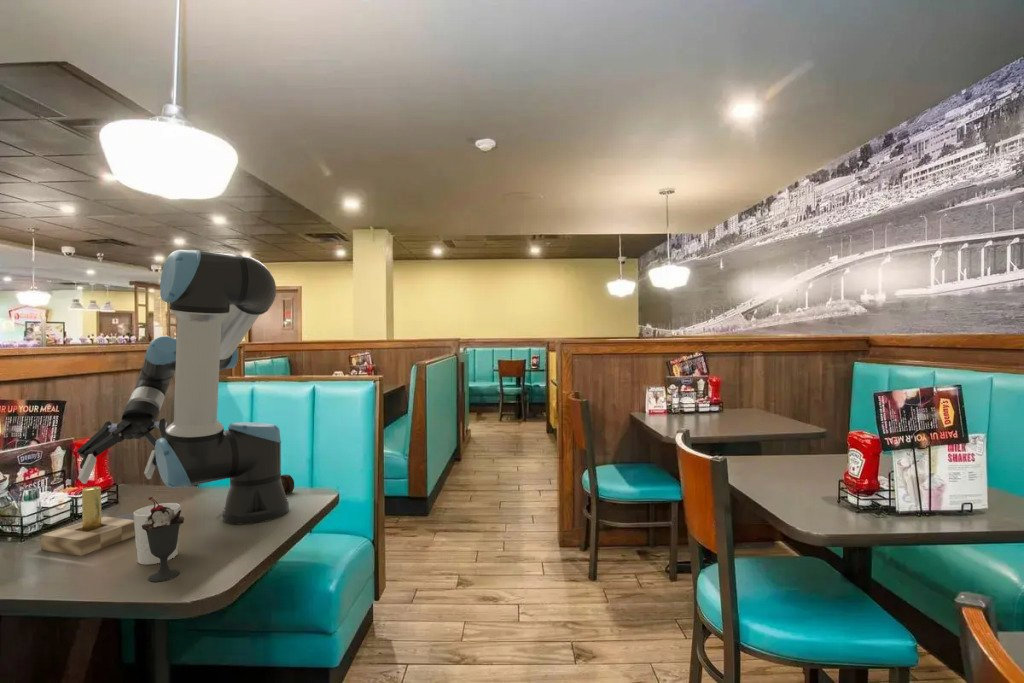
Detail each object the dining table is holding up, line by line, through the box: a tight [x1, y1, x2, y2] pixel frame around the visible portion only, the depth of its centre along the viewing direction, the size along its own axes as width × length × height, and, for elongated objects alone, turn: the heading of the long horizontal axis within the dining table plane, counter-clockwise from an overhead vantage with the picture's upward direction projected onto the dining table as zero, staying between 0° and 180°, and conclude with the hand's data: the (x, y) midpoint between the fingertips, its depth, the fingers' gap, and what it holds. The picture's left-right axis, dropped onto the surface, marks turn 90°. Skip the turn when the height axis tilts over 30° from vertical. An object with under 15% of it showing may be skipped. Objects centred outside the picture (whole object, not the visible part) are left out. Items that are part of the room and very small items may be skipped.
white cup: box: [132, 502, 181, 566], centre depth 105 cm, size 8×8×10 cm
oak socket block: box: [40, 515, 135, 556], centre depth 113 cm, size 12×12×4 cm
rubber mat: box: [112, 513, 134, 520], centre depth 127 cm, size 10×8×1 cm
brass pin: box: [81, 486, 102, 532], centre depth 113 cm, size 3×3×12 cm
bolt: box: [281, 474, 295, 494], centre depth 145 cm, size 6×5×15 cm
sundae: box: [141, 496, 185, 583], centre depth 97 cm, size 7×7×15 cm
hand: (115, 478), depth 123 cm, fingers open, 13 cm apart
